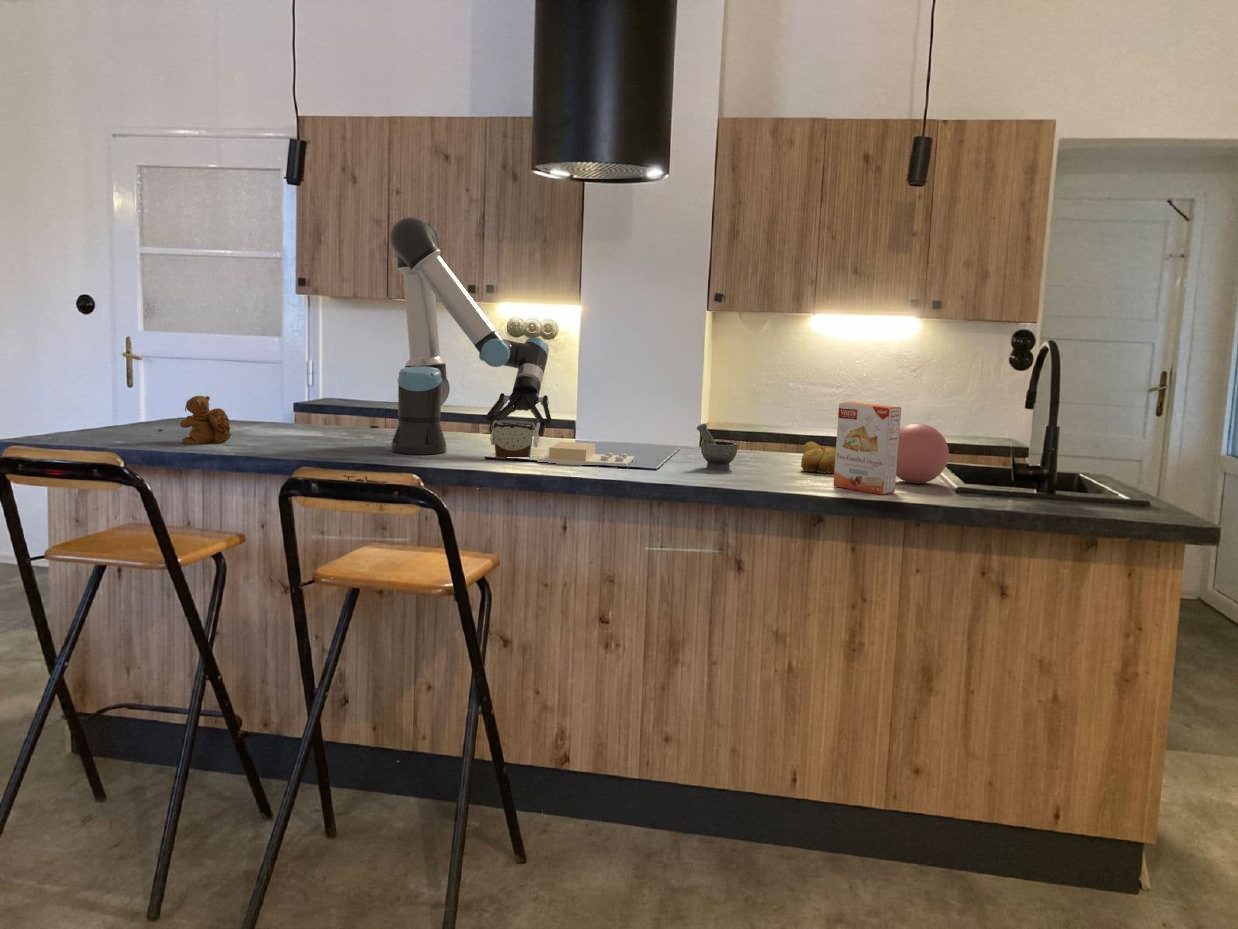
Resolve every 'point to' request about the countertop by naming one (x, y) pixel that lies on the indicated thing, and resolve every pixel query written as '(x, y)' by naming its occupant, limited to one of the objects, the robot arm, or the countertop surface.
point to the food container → (512, 438)
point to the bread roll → (818, 458)
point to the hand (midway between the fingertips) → (513, 443)
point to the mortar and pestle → (716, 450)
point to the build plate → (589, 462)
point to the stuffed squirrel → (205, 422)
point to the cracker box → (867, 447)
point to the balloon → (921, 453)
